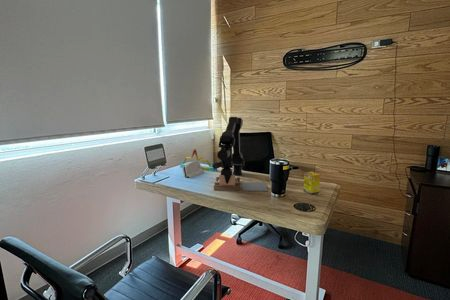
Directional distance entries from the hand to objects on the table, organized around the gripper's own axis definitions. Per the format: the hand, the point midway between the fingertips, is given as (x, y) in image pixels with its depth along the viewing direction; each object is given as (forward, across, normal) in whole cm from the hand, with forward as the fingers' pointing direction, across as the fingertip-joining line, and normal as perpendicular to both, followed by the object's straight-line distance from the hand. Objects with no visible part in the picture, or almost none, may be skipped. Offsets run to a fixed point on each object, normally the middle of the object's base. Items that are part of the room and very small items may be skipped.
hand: (227, 182), depth 141 cm
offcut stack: (+4, -10, 0) cm, 11 cm away
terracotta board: (+4, 0, 0) cm, 4 cm away
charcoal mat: (+4, -3, +16) cm, 17 cm away
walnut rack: (+4, -5, 0) cm, 6 cm away
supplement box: (+4, +4, +47) cm, 47 cm away
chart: (+4, -42, -23) cm, 48 cm away
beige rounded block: (+4, -27, -25) cm, 37 cm away
